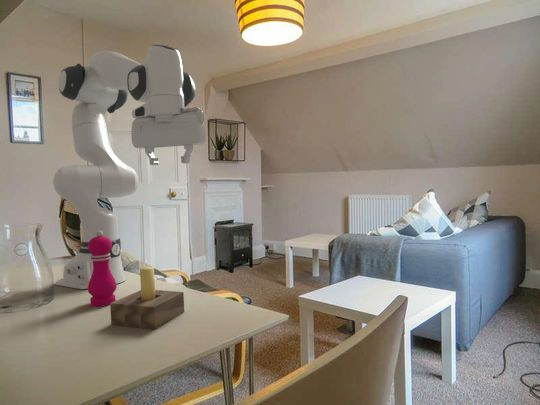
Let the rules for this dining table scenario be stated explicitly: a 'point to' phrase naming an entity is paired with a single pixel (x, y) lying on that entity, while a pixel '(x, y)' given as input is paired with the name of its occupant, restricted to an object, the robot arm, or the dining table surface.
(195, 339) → the dining table surface
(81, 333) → the dining table surface
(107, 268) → the pepper mill
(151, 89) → the robot arm
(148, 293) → the dowel
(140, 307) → the socket block
